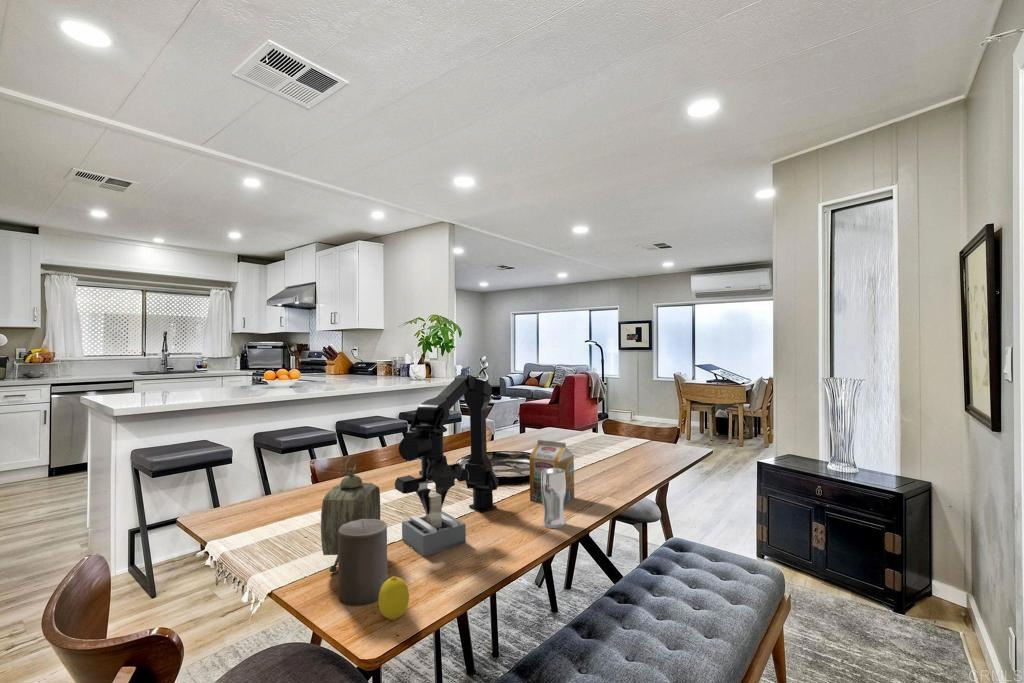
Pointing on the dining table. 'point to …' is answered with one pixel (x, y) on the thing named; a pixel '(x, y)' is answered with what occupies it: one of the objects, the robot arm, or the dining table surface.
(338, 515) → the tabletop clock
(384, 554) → the pillar candle
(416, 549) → the grey divided tray
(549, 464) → the milk carton
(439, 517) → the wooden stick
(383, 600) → the lemon
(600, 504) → the dining table surface
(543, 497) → the beer glass
